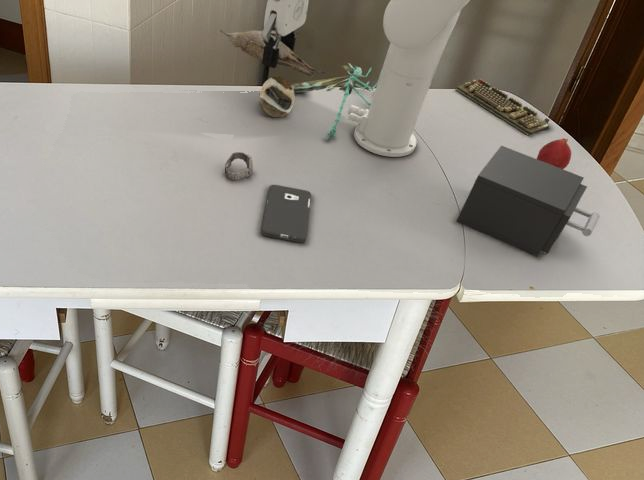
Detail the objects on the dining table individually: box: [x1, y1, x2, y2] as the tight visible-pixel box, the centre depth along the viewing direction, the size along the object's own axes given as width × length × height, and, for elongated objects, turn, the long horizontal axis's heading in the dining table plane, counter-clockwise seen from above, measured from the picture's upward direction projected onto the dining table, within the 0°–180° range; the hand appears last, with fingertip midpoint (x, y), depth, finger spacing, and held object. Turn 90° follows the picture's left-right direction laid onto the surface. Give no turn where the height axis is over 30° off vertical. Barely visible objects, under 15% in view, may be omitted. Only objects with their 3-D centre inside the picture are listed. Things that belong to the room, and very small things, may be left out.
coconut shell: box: [258, 76, 296, 118], centre depth 144 cm, size 8×8×6 cm
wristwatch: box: [224, 151, 254, 181], centre depth 127 cm, size 4×6×5 cm
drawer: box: [540, 183, 601, 255], centre depth 120 cm, size 18×12×8 cm, turn 54°
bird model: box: [219, 29, 327, 77], centre depth 144 cm, size 29×6×5 cm, turn 45°
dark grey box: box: [456, 145, 585, 258], centre depth 121 cm, size 15×13×10 cm
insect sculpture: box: [290, 62, 382, 141], centre depth 148 cm, size 6×20×30 cm
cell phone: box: [260, 184, 312, 244], centre depth 121 cm, size 8×15×1 cm, turn 169°
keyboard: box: [454, 78, 551, 136], centre depth 154 cm, size 22×9×2 cm, turn 30°
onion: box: [536, 137, 572, 170], centre depth 134 cm, size 6×6×8 cm
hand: (277, 59), depth 144 cm, fingers closed on bird model, 6 cm apart
